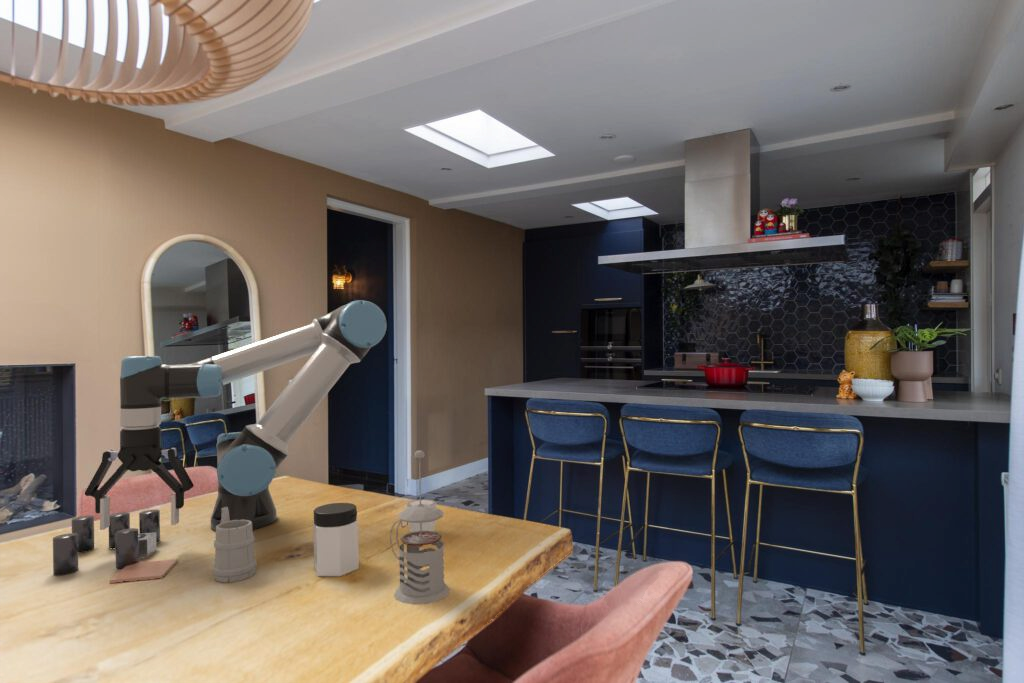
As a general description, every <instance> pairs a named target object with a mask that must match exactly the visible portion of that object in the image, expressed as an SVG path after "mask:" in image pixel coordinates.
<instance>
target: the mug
mask: <svg viewBox="0 0 1024 683" xmlns="http://www.w3.org/2000/svg"><path fill="white" fill-rule="evenodd" d="M221 511H222V514H221V522H220V524H219V525H217V526H216V531H215V540H214V541H213V546H214V547H213V548H214V553H215V554H214V557H215V558H214V564H213V567H212V574H213V575H214V580H215V579H216V580H215V581H217V582H219V581H221V583H234V582H233V581H235V582H239V581H238V580H240V581H242V580H246V579H248V578H251V577H252V576H253V575H254V574H256V567H257V559H256V558H255V552H254V550H255V549H254V543H255V540H256V539H255V535H254V532H253V531H254V530H253V529H252V522H251V521H250V520H232V521H230V518H229V510H228V507H224V508H221ZM228 581H229V582H228Z"/></svg>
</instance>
